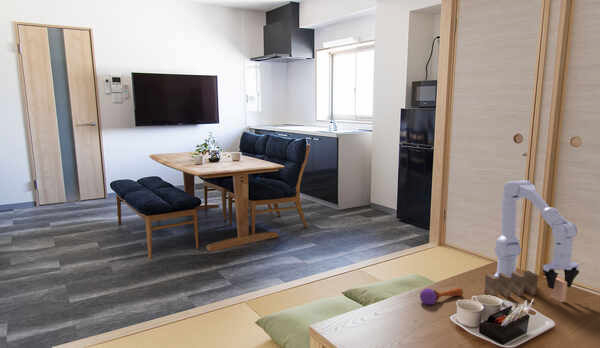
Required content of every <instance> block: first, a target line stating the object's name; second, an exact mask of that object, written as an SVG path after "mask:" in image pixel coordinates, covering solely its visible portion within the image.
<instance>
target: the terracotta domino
mask: <svg viewBox="0 0 600 348" xmlns="http://www.w3.org/2000/svg"><path fill="white" fill-rule="evenodd" d="M567 288H568V287H567V282H566V281H565V279H561V278H559V277H558V276H557V277H556V280H555V286H554V289H551V288H550V289H551V292H550V298H552V299H554V300H555V301H557V302H559V303H565V302H566V298H567Z"/></svg>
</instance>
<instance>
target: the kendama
mask: <svg viewBox="0 0 600 348" xmlns="http://www.w3.org/2000/svg"><path fill="white" fill-rule="evenodd" d="M419 294H420V295H419V298H420V301H421V302H422V304H425V305H428V306H431V305H434V304H435V303H436V302H437V301H438V300H440V299H441V297H461V296H463V294H464V291H463V288H461V287H455V288H451V289H450V290H446V291H443V292H439V291H438V290H436V289H431V288H424V289H423V290H422V291H421V290H420V293H419Z"/></svg>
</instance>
